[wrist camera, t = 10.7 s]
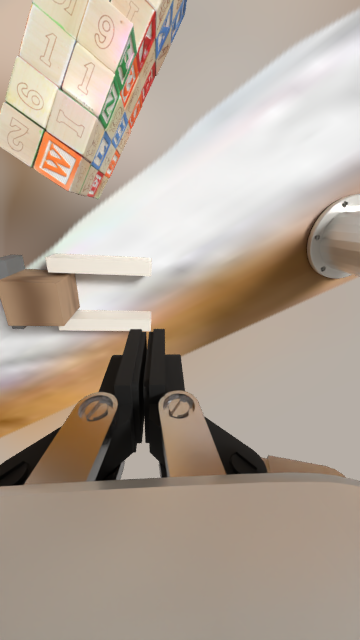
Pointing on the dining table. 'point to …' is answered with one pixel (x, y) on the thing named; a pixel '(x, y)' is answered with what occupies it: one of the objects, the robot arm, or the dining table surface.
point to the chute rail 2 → (108, 321)
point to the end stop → (11, 270)
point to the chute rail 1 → (99, 264)
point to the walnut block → (39, 298)
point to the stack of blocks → (83, 85)
